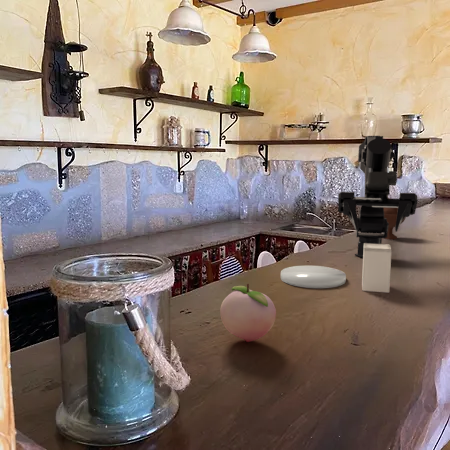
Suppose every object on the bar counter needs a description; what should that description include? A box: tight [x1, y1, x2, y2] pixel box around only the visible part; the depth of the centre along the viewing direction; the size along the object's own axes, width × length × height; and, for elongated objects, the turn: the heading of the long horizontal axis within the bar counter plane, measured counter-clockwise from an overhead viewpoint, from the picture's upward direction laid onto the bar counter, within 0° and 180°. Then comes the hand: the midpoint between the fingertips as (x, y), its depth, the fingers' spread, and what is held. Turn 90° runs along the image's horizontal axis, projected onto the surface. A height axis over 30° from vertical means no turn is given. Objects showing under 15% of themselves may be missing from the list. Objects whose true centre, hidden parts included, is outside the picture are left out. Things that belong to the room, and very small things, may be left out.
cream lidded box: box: [361, 243, 392, 293], centre depth 104 cm, size 6×6×10 cm
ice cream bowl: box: [383, 197, 407, 240], centre depth 167 cm, size 11×11×15 cm
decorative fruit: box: [219, 283, 277, 343], centre depth 74 cm, size 9×8×10 cm
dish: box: [280, 265, 347, 289], centre depth 112 cm, size 16×16×2 cm
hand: (376, 229), depth 109 cm, fingers open, 9 cm apart
